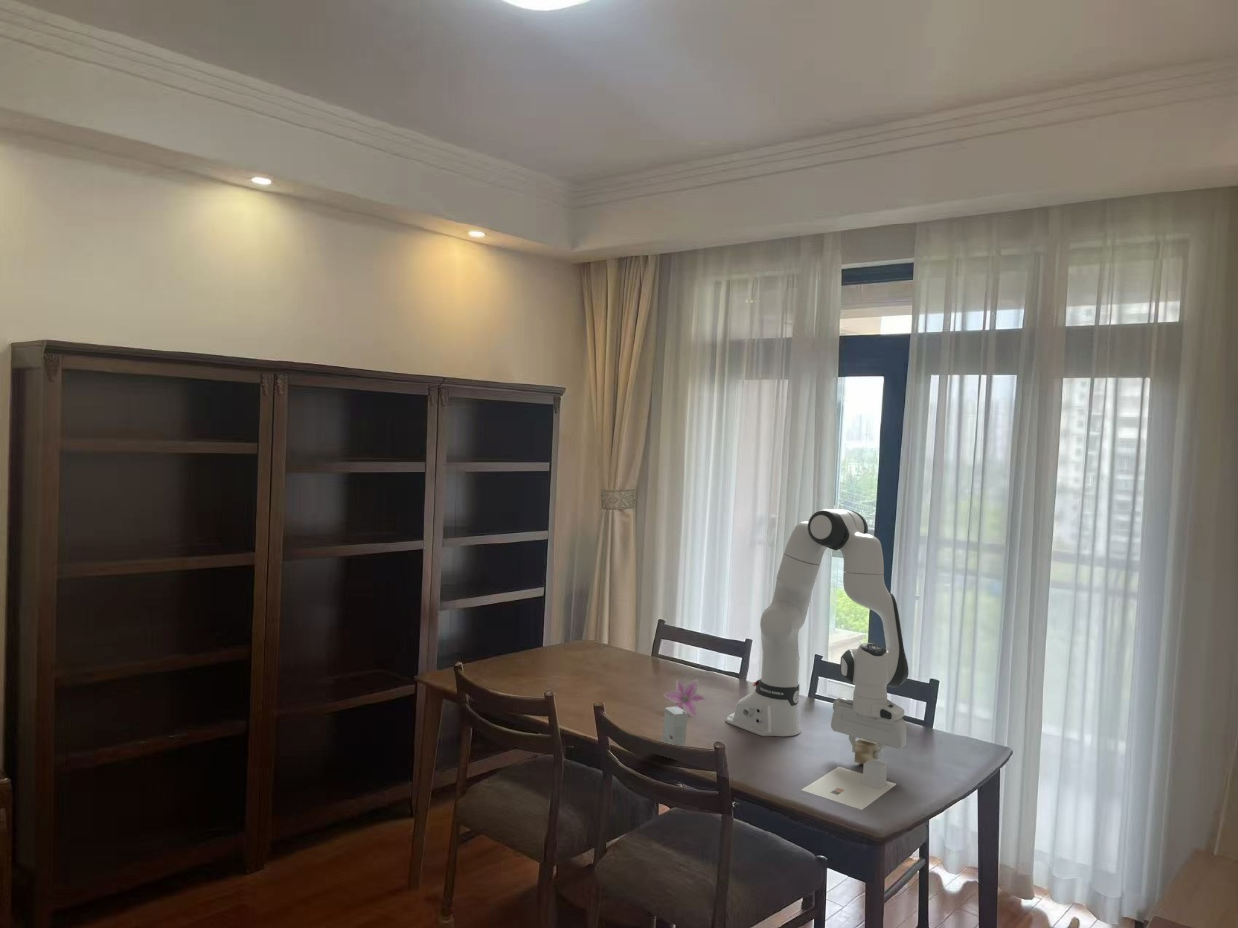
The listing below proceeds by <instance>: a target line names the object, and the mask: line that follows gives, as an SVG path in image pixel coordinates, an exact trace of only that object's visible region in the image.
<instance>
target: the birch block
mask: <svg viewBox="0 0 1238 928" xmlns="http://www.w3.org/2000/svg"><path fill="white" fill-rule="evenodd" d="M877 746H878V743H875V742H872V741H868V740H865V739H861V738H859V739H858V740H856V746H855V753H854V763H857V764H862V765H864V763H865V762H867V761H869V760H870V759H872V760H876V761H878V759H875V758H873V752H874V751H876V750H878V749H879V747H877Z"/></svg>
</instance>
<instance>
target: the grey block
mask: <svg viewBox="0 0 1238 928" xmlns="http://www.w3.org/2000/svg"><path fill="white" fill-rule="evenodd" d="M862 768H863V769H862V774H863V781H862V785H865V786H868V787H871V788H874V789H877V790H880V789H881V788H883V787H884V786H885V785H886V781H887V777H888V776H887V774H888V763H886V762H882V761H879V760H877V761H876V760H872V759H870V760H869V761H867V762H865V763H864V764H863V767H862Z"/></svg>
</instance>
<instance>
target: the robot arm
mask: <svg viewBox="0 0 1238 928" xmlns="http://www.w3.org/2000/svg"><path fill="white" fill-rule="evenodd" d="M868 532H869V527H868V522H867V520H866V518H864V517H863V515H861V514H860V513H859V512H857V511H854V510H848V509H844V508H832V509H831V508H824V509H821V510H818V511H816V512H814V513H812V515H811V517H810V518H809V519H808V521H801V522H799V523H797V524H796V526H794V529H793V531H792V532H791V534H790V536H789V539H788V541H787V543H786V546H785V550H784V552H783V555H782V559H781V562H780V566H779V569H778V571H777V575H776V582H775V587H774V592H773V598H772V600H771V603H770V604H769V606H767V607H766V608H765V609H764V611H763V612H762V614H761V616H760V617H761V618H760V621H759V622H760V637H761V650H762V660H761V678H760V679H757V680H756V681H755V682H752V687H755V689H754V690H753V691H752V692H749V694H747V695H746V696H745V695H744V697H742V698H740V699H739V700H738V701H737V703H736V705H735V707H734V708H735V709H734V712H733V713H731V714H729V715H727V718H726V723H727V724H730V725H732V726H735V727H737V728H740V729H743V730H745V731H748V732H751V733H753V734H754V735H755V734H756V735H758V736H761V737H792V736H797V735H798V734H800V733H801V732H802V729H801V725H800V720H799V719H800V718H799V709H798V707H799V706H798V704H799V701H800V700H799V699H800V683H799V675H800V659H801V658H800V651H799V650H800V649H799V632H800V630H801V628H802V627H803V626H804V624H805V621H806V617H807V614H808V612H809V611H808V610H809V607H810V602H811V597H812V594H813V589H814V586H815V582H816V580H817V576H818V572H819V570H820V568H821V567H820V566H821V564H822V561H823V560H822V559H823V556H824V554H825V551H826V550H827V549H831V550H832V551H834V552H835V551H839V552H840V553H841V554H842V557H843V572H842V573H843V575H842V576H843V581H842V583H843V589H844V592H845V594H846V595H847V596H848V598H849V599H850V600H851V601H852V602H854V603H856V604H857V605H859V606H862V607H864V608H866V609H869V610H871V611H873V612H874V613H876V614H877V615H878V616H879V617H880V619H881V622H882V629H883V634H884V640H885V647H884V646H883V645H880V644H878V643H875V642H865V643H861V644H860V645H859V646H858V648H851V649H847V650H846V651H845V652H844V653H843V654H841V656H840V663H839V664H840V665H839V673H840V676H841V677H842V678H843V679H844V680H845V681H846V682H848V683H849V684H854V689H853V695H852V697H853V698H852V700H851V699H846V698H843V697H838V698H835V699H834V700H833V703H832V710H833V713H832V717H831V723H830V728H831V729H832V731H833V732H837V733H840V734H844V735H846V736H848V740H849V742H850V745H851V747H852V748H851V750H852V751H851V752H852V753H854V754H855V746H856V741H857V740H856V739H857V738H858V739H865V740H868V741H872V742H875V743H878V746H877V747H878V750H876V751H874V752H873V758H875V759H877V760H880V759H881V757H882V755H881V754H882V752H883V751H884V749H885V748H886V746H887V747H890V748H894V749H899V750H900V749H902V748H903V747H904V746H906V744H907V724H906V721H905V720H904V719H903V717H904V715H905V709H904V708H903V707H901V706H899V705H897V704H896V703H894V702H893V701H891V700H890V699H888V692H887V687H889V688H899V687H900V686H901V685H903V684H904V683H905V682H906V681H907V679H908V677H909V663H908V659H907V656H906V652H905V648H904V646H905V645H904V640H903V633H902V626H901V620H900V614H899V609H898V604H897V601H896V597H895V596H894V594H893V593H891V592H890V591H889V590H888V588H887V586H886V583H885V576H884V574H885V572H884V570H885V567H884V566H885V565H884V554H883V549H882V544H881V540H879V538H877V536H874V535H872V534H869V533H868Z"/></svg>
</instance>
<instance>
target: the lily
mask: <svg viewBox="0 0 1238 928" xmlns="http://www.w3.org/2000/svg"><path fill="white" fill-rule="evenodd" d="M675 686H676V688H675V690H670V691H667V692H665V693H663V694H662V696H663V697H665V698H666V699H667V700H669V701H671V702H673V703H674V705H673V707H677V706H678V707H679V708H680V709H682V710H684V711H685V712H686V713H687V714H689V715H690V716H692V717H693V718H695V717H696V715H697V705H696V704H699V703H701V702H703V701H705V700H706V698H705V697H704V696H702V695H700V694H698V693H697V691H698V686H699V679H698V678H696V679H694V680H691V681H689V682H688V683H687V684H686V685H685V684H684V683H683V682H681V680H679V679H676V681H675Z"/></svg>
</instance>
